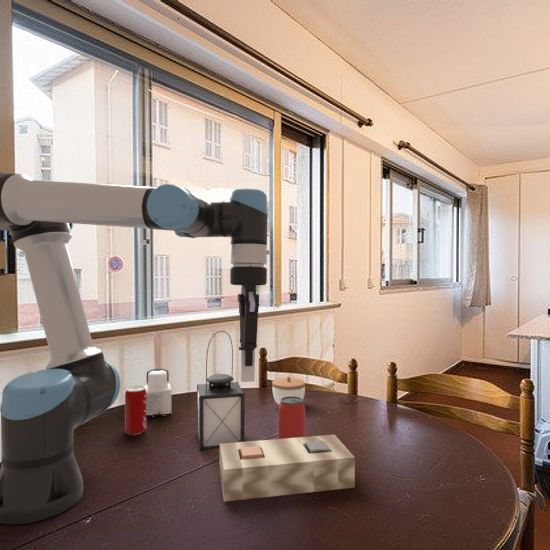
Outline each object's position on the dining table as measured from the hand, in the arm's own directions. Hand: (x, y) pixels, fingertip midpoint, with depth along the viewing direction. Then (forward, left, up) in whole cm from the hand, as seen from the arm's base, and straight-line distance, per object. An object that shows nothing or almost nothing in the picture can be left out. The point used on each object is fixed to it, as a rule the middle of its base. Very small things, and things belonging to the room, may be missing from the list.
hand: (247, 380), depth 85 cm
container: (-21, +48, -21) cm, 56 cm away
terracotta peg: (+1, -1, -20) cm, 20 cm away
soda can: (-26, +32, -21) cm, 46 cm away
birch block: (+8, -1, -21) cm, 22 cm away
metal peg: (+15, -1, -20) cm, 25 cm away
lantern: (-4, +22, -21) cm, 31 cm away
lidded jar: (+20, +46, -21) cm, 54 cm away
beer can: (+13, +14, -21) cm, 28 cm away
